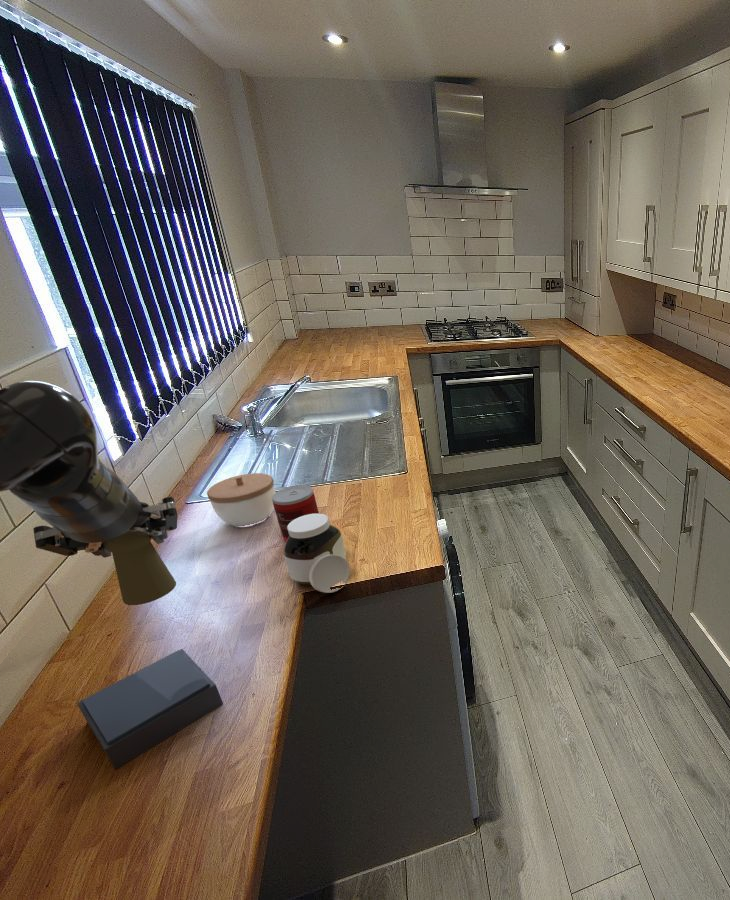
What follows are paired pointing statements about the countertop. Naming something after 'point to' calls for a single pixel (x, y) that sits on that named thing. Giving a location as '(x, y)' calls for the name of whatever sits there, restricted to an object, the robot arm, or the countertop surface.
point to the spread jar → (316, 553)
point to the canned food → (293, 505)
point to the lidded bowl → (243, 498)
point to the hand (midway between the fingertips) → (133, 543)
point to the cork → (139, 569)
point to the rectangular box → (149, 706)
